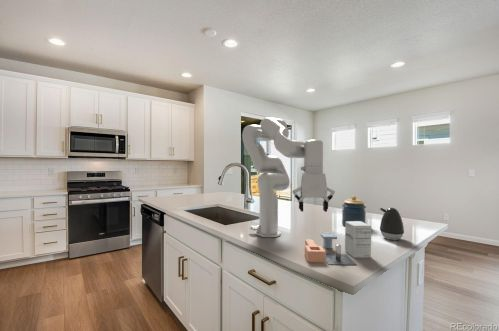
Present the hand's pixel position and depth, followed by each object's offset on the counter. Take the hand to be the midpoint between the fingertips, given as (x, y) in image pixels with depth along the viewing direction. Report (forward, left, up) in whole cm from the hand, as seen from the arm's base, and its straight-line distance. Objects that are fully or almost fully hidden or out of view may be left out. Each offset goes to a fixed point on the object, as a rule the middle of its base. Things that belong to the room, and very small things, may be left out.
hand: (313, 211), depth 102 cm
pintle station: (+8, -8, -17) cm, 20 cm away
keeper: (+7, +4, -17) cm, 19 cm away
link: (-1, -4, -17) cm, 17 cm away
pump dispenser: (+43, +20, -17) cm, 50 cm away
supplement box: (+17, -2, -17) cm, 24 cm away
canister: (+34, +44, -17) cm, 58 cm away
